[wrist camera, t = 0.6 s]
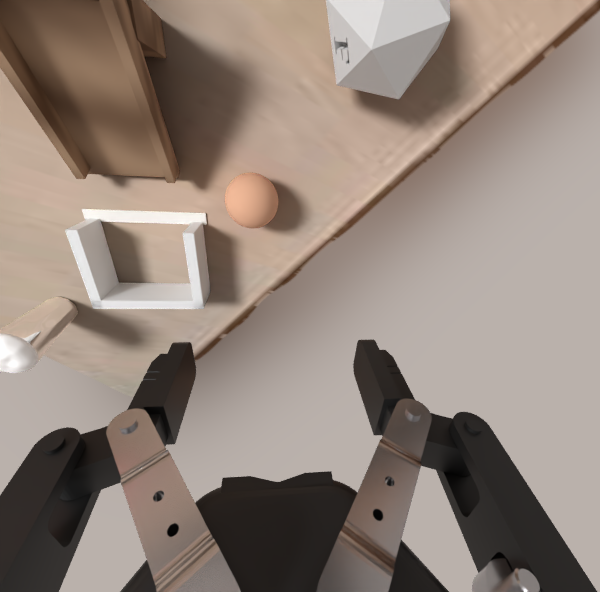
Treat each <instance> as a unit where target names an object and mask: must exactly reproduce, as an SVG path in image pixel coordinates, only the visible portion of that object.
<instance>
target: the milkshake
mask: <svg viewBox="0 0 600 592" xmlns="http://www.w3.org/2000/svg"><path fill="white" fill-rule="evenodd" d="M77 313H78V311H77V308H76V305H75V304H74V303H72V302H71V301H70V300H69V299H66V298H62V297H59V296H58V297H54V298H50V299H48V300H46V301H45V302H43V303H41V304H40V305H38V306H37V307H35V308H33V309H32V310H30V311H29V312H27V313H25V314H24V315H22V316H21V317H19V318H17V319H16V320H14V321H12V322H11V323H9V324H7V325H6V326H4V327H2V328H1V329H0V373H1V372H2V371H5V372H8V373H19V372H24V371H27V370H30V369H32V368H33V367H34V366H35V365H36V364H37V363H38V361H39V360H40V359H41V358H42V356H43V355H44V354H45V353H46V351H47V350H48V349H49V348H50V346H51V345H52V344H53V342H54V341H55V340H56V339H57V338H58V337H59V335H60V334H61V333H62V332H63V331H64V330H65V329H66V327H67V326H68V325H69V324H70V323H71V322H72V320H73V319H74V318H75V316H76V315H77Z"/></svg>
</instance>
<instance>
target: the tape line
mask: <svg viewBox="0 0 600 592" xmlns="http://www.w3.org/2000/svg"><path fill="white" fill-rule="evenodd" d="M82 211H83V214H84V218H85V220H86V219H89V218H95V219H100V222H131V223H164V224H191V223H192V222H203V225H207V221H206V213H189V212H160V211H131V210H101V209H82Z"/></svg>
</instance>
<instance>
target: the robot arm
mask: <svg viewBox="0 0 600 592" xmlns="http://www.w3.org/2000/svg"><path fill="white" fill-rule="evenodd" d="M354 375H355V378H356V381H357V384H358V388H359V391H360V394H361V397H362V400H363V403H364V406H365V409H366V412H367V415H368V418H369V422H370V425H371V428H372V431H373V434H374V435H382V436H383V437H382V439H381V440H380V442H379V444H378V446H377V448H376V451H375V453H374V455H373V458H372V460H371V463H370V465H369V467H368V470H367V472H366V474H365V477H364V479H363V481H362V484H361V486H360V488H359V491H358V493H357V492H356V491H355V490H353V489H352V488H350V487H349V486H347V485H345V484H343V483H340V482H338V481H334V480H333V479H332V474H331V472H314V473H304V474H301V475H298V476H295V477H292V478H290V479H287V480H284V481H281V482H273V481H269V480H264V479H260V478H256V477H251V476H247V477H230V478H223V479H222V486H221V487H220V488H217V489H215V490H213V491H211V492H209V493H208V494H206V495H204V496H203V497H202V498H201V499H199V500H198V501H197V502H196V503H195V502H194V500H193V498H192V496H191V494H190V492H189V490H188V489H187V486H186V484H185V482H184V481H183V478H182V476H181V475H180V473H179V470H178V468H177V467H176V465H175V463H174V461H173V459H172V457H171V455H170V453H169V451H168V450H166V448H165V446H166V444H175V442H176V439H177V436H178V432H179V429H180V425H181V423H182V420H183V416H184V413H185V410H186V407H187V403H188V400H189V397H190V394H191V390H192V387H193V384H194V380H195V376H196V365H195V360H194V355H193V350H192V345H191V343H190V342H179V343H173V344H172V345H171V347H170V349H169V352H168V354H160V355H159V356H158V357H157V358H156V359H155V360H154V361H152V363H151V365H150V367H149V369H148V370H147V373H146V374H145V376H144V378H143V381H142V382H141V384H140V386H139V388H138V390H137V392H136V394H135V396H134V398H133V400H132V402H131V404H130V406H129V408H128V409H127V411H124V412H122V413H121V414H119V415H117V416H116V417H115V418H114V419H113V420H112V421H111V422H110V424H109V425H108V426H106V427H104V428H101V429H98V430H94V431H91V432H88V433H85V434H81V435H80V433H79V432H78V430H76V429H74V428H62V429H58V430H55V431H53V432H51V433H49V434H48V435H46V436H44V437H43V438H42V439H41V440H40V441H38V442H37V443H36V444H35V445H34V447H33V448H32V450H31V451H30V453H29V454H28V456H27V457H26V458H25V460H24V461H23V463H22V464H21V466H20V467H19V469H18V470H17V472H16V473H15V475H14V476H13V478H12V479H11V481H10V482H9V483H8V485H7V486H6V488H5V489H4V491H3V492H2V494H1V495H0V592H59V590H60V587H61V585H62V582H63V580H64V578H65V575H66V573H67V570H68V568H69V566H70V563H71V561H72V558H73V556H74V553H75V551H76V548H77V546H78V544H79V541H80V539H81V536H82V534H83V532H84V529H85V527H86V525H87V522H88V520H89V517H90V515H91V512H92V510H93V508H94V505H95V503H96V500H97V498H98V496H99V493H100V491H101V489H104V488H107V487H109V486H112V485H115V484H117V483H120V482H121V484H122V487H123V490H124V493H125V496H126V499H127V502H128V505H129V508H130V511H131V514H132V517H133V520H134V522H135V526H136V529H137V531H138V535H139V538H140V541H141V543H142V546H143V549H144V552H145V555H146V558H147V560H146V561H145V563H144V564H143V565H142V566H141V567H140V569H139V570H138V571H137V572H136V573H135V575H134V576H133V577H132V578H131V580H130V581H129V582H128V583H127V584H126V586H125V587H124V588H123V589H122V590H121V592H449V591H448V590H447V589H446V588H445V587H444V586H443V585H442V584H441V583H440V582H439V580H438V579H437V578H436V577H435V576H434V575H433V574H432V573H431V572H430V571H429V569H427V567H426V566H425V565H424V564H423V563H422V562H421V561H420V560H419V558H418V557H417V556H416V555H415V554H414V553H413V552H412V551H411V550H410V549H409V548H408V546H407V545H406V544H405V543H404V542H403V541H402V540H401V538H402V534H403V530H404V527H405V523H406V519H407V515H408V512H409V508H410V505H411V501H412V497H413V493H414V490H415V486H416V482H417V479H418V475H419V471H420V467H421V466H425V467H428V468H432V469H436V471H437V473H438V476H439V478H440V481H441V483H442V485H443V488H444V490H445V493H446V495H447V498H448V500H449V502H450V505H451V507H452V509H453V512H454V514H455V517H456V519H457V522H458V524H459V526H460V529H461V531H462V534H463V536H464V539H465V541H466V543H467V546H468V548H469V551H470V553H471V556H472V558H473V560H474V563H475V565H476V568H477V570H478V574H477V575H476V577H475V578H474V580H473V585H472V591H473V592H597V591H596V589H595V588H594V586H593V585H592V583H591V581H590V580H589V578H588V577H587V575H586V574H585V572H584V571H583V569H582V568H581V566H580V565H579V563H578V562H577V560H576V558H575V557H574V555H573V554H572V552H571V551H570V549H569V548H568V546H567V545H566V543H565V542H564V540H563V538H562V537H561V535H560V534H559V532H558V531H557V529H556V528H555V526H554V525H553V523H552V522H551V520H550V519H549V517H548V515H547V514H546V512H545V511H544V509H543V508H542V506H541V505H540V503H539V502H538V500H537V499H536V497H535V495H534V494H533V492H532V491H531V489H530V488H529V487H528V485H527V483H526V482H525V480H524V479H523V477H522V476H521V474H520V472H519V471H518V469H517V468H516V466H515V465H514V463H513V462H512V460H511V459H510V457H509V455H508V454H507V453H506V451H505V449H504V448H503V446H502V445H501V443H500V442H499V440H498V439H497V437H496V435H495V434H494V432H493V431H492V429H491V428H490V426H489V425H488V424H487V423H486V422H485V421H484V420H483V419H481V418H480V417H478V416H477V415H474V414H472V413H468V412H459V413H457V414H456V415H455V416H454V418H453V419H451V418H447V417H443V416H439V415H435V414H432V413H430V411H429V410H428V409H427V408H426V407H425V406H424V405H423V404H422V403H420V402H418V401H416V400H415V399H414V397H413V395H412V393H411V391H410V389H409V387H408V385H407V383H406V381H405V379H404V377H403V376H402V374H401V372H400V370H399V368H398V367H397V364H396V362H395V360H394V358H393V357H392V356H391V355H390V354H389V353H388V352H387V351H386V350H379V348H378V346H377V344H376V342H375V340H359V341H358V343H357V348H356V353H355V359H354Z"/></svg>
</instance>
